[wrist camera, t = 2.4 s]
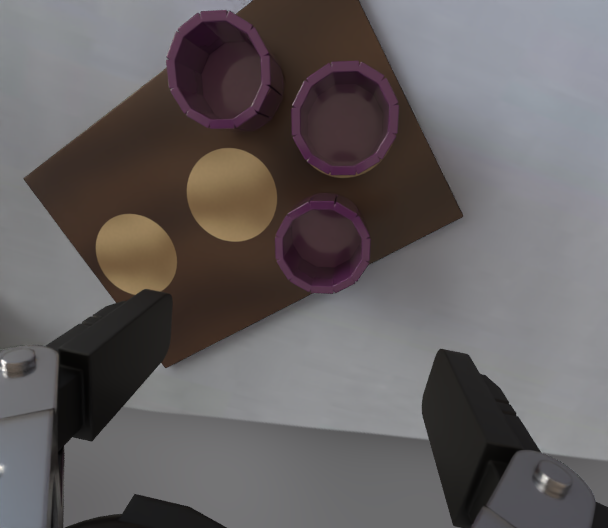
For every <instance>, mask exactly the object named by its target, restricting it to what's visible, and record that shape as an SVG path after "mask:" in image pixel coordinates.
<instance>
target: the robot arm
mask: <svg viewBox="0 0 608 528" xmlns="http://www.w3.org/2000/svg"><path fill="white" fill-rule="evenodd" d="M172 305H173V300H172V296H171V294H169V293H164V292H159V291H155V290H150V289H143V290H142V291H140V292H139V293H137V294H136V295H134V296H133V297H132V298H130V299H129V300H127V301H121V302H118V303H115V304H112V305H109V306H106V307H104V308H103V309H101V310H100V311H98V312H97V313H95V314H94V315H93V317H89V318H87V319H86V320H84V321H83V322H82V324H78V325H77V326H75V327H74V328H72V329H71V330H69V331H68V332H66V333H64V334H63V335H61V336H60V337H58V338H57V339H55V340H54V341H52V342H51V343H49V344H48V345H46V346H43V345H22V346H15V347H11V348H7V349H4V350H1V351H0V528H63V507H64V506H63V505H64V445H65V444H66V443H67V442H68V441H69V440H70V439H71V438H72V437H74V438H79V439H83V440H88V441H93V440H94V439H95V437H96V436H97V435H98V434H99V433H100V432H101V430H102V429H103V428H104V427H105V426H106V425H107V424H108V423H109V421H110V420H111V419H112V418H113V417H114V416H115V415H116V413H117V412H118V411H119V410H120V409H121V408H122V407H123V405H124V404H125V403H126V402H127V401H128V400H129V399H130V397H131V396H132V395H133V394H134V393H135V392H136V391H137V389H138V388H139V387H140V386H141V385H142V384H143V383H144V381H145V380H146V379H147V378H148V377H149V376H150V375H151V373H152V372H153V371H154V370H155V369H156V368H157V367H158V365H159V364H160V363H161V362H162V361H163V360H164V358H165V356H166V354H167V352H168V349H169V346H170V341H171V324H172ZM422 415H423V419H424V423H425V427H426V430H427V434H428V437H429V441H430V444H431V448H432V451H433V455H434V459H435V462H436V466H437V469H438V473H439V476H440V480H441V484H442V487H443V491H444V494H445V498H446V502H447V505H448V509H449V512H450V516H451V519H452V523H453V525H454V526H456V527H461V528H608V507H606V506H604V505H602V504H600V503H597V502H596V501H595V497H594V495H593V493H592V491H591V489H590V488H589V486H588V485H587V484H586V483H585V482H584V480H583V479H582V478H581V477H580V476H579V475H578V474H576V473H575V472H574V471H573V470H572V469H570V468H569V467H568V466H566V465H565V464H563V463H562V462H560V461H558V460H556V459H555V458H553V457H551V456H548V455H546V454H544V453H541V452H540V450H539V448H538V447H537V445H536V444H535V442H534V441H533V439H532V437H531V436H530V434H529V433H528V431H527V430H526V428H525V426H524V425H523V423H522V422H521V420H520V419H519V417H518V416H516V412H515V411H514V409H513V408H512V406H511V405H510V404H509V401H508V400H507V398H506V397H505V395H504V393H503V392H502V390H501V389H500V388H499V387H498V386H497V385H496V384H495V383H494V382H493V381H491V380H490V379H489V378H488V377H487V376H486V375H482V374H480V373H479V371H478V370H477V368H476V366H475V364H474V363H473V361H472V359H471V358H470V356H469V355H468V354H465V353H460V352H455V351H450V350H445V349H440V350H439V351H438V352H437V354H436V356H435V359H434V362H433V366H432V369H431V372H430V375H429V378H428V381H427V384H426V388H425V391H424V394H423V399H422ZM65 528H226V527H224V526H223V525H221V524H219V523H217V522H216V521H214V520H212V519H210V518H208V517H207V516H205V515H203V514H201V513H200V512H198V511H196V510H194V509H192V508H190V507H188V506H184V505H179V504H175V503H171V502H166V501H162V500H158V499H154V498H150V497H145V496H141V495H136V494H134V496H133V497H132V499H131V501H130V502H129V504H128V506H127V507H126V509H125V511H124V512H123V514H115V515H108V516H102V517H97V518H93V519H89V520H85V521H82V522H79V523H76V524H73V525H71V526H68V527H65Z"/></svg>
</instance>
